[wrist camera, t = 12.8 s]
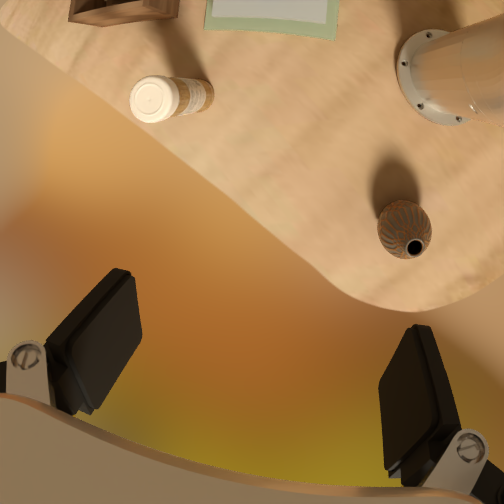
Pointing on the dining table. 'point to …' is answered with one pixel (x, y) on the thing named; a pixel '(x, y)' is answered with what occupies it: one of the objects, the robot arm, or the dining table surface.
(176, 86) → the sprinkles bottle
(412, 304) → the dining table surface
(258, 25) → the mat
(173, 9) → the box
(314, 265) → the dining table surface
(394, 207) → the vase
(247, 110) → the dining table surface
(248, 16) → the lid
